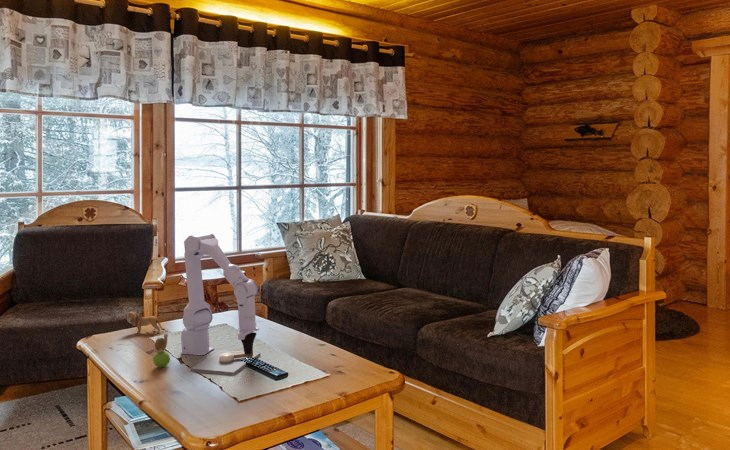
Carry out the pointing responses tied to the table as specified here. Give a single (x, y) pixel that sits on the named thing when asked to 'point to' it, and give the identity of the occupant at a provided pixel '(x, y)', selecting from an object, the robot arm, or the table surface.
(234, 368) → the stud board
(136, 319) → the lion figurine
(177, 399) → the table surface
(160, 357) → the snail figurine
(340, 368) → the table surface
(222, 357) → the brown white rounded rod
